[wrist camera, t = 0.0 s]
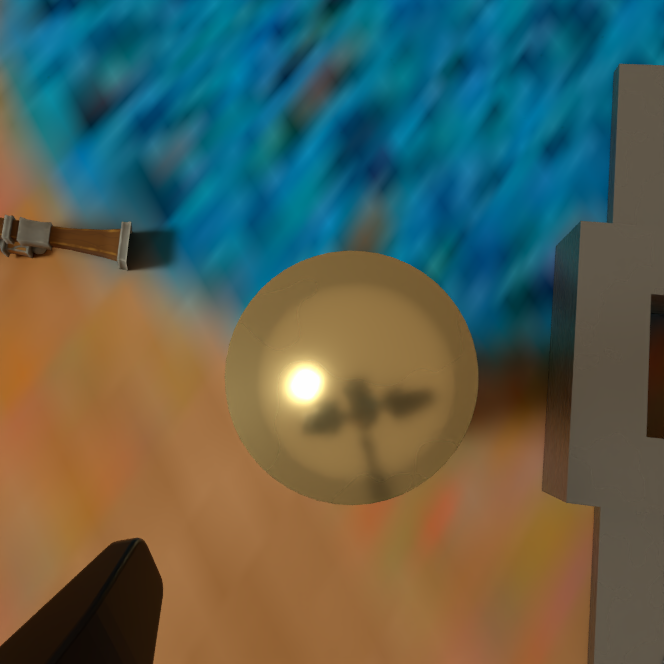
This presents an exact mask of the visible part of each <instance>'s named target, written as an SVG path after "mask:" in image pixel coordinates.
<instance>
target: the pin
mask: <svg viewBox="0 0 664 664" xmlns="http://www.w3.org/2000/svg"><path fill="white" fill-rule="evenodd" d="M225 389H226V397H227V403H228V408H229V412H230V415H231V418H232V421H233V424H234V427H235V429H236V431H237V433H238V435H239V437H240V439H241V441H242V443H243V444H244V446H245V447H246V449H247V450H248V452H249V453H250V455H251V456H252V457H253V458H254V459H255V461H256V462H257V463H258V464H259V465H260V467H262V468H263V469H264V470H265V471H266V472H267V473H268V474H269V475H270V476H272V477H273V478H274V479H275V480H277V481H278V482H280V483H281V484H283V485H284V486H286V487H287V488H289V489H291V490H293V491H295V492H297V493H299V494H301V495H303V496H306V497H309V498H312V499H315V500H318V501H322V502H327V503H332V504H343V505H360V504H371V503H375V502H380V501H385V500H388V499H391V498H394V497H397V496H399V495H402V494H404V493H406V492H408V491H410V490H412V489H414V488H416V487H417V486H419V485H420V484H422V483H423V482H425V481H426V480H427V479H429V478H430V477H432V476H433V475H434V474H435V473H436V472H437V471H438V470H439V469H440V468H441V467H442V466H443V465H444V464H445V463H446V462H447V461H448V459H449V458H450V457H451V456H452V455H453V453H454V452H455V451H456V449H457V447H458V446H459V444H460V442H461V441H462V439H463V438H464V436H465V433H466V431H467V429H468V427H469V424H470V422H471V419H472V416H473V412H474V409H475V405H476V399H477V392H478V364H477V356H476V351H475V347H474V343H473V339H472V336H471V334H470V331H469V329H468V326H467V324H466V322H465V320H464V318H463V316H462V315H461V313H460V311H459V309H458V308H457V306H456V305H455V304H454V302H453V301H452V300H451V298H450V297H449V296H448V294H447V293H446V292H445V291H444V290H443V289H442V288H441V287H440V286H439V285H438V284H437V283H436V282H434V281H433V280H432V279H431V278H429V277H428V276H427V275H425V274H424V273H423V272H421V271H419V270H418V269H416V268H414V267H413V266H411V265H409V264H407V263H405V262H402V261H400V260H398V259H395V258H392V257H389V256H385V255H382V254H378V253H371V252H364V251H341V252H332V253H327V254H323V255H318V256H314V257H312V258H309V259H306V260H304V261H301V262H299V263H297V264H295V265H293V266H291V267H289V268H288V269H286V270H284V271H283V272H281V273H280V274H279V275H277V276H276V277H274V278H273V279H272V280H271V281H270V282H268V283H267V284H266V285H265V286H264V287H263V288H262V289H261V290H260V291H259V292H258V293H257V294H256V296H255V297H254V298H253V299H252V300H251V301H250V303H249V304H248V306H247V308H246V309H245V311H244V312H243V314H242V315H241V317H240V319H239V321H238V323H237V325H236V327H235V330H234V332H233V335H232V338H231V341H230V344H229V349H228V354H227V358H226V368H225Z"/></svg>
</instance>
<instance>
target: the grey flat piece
mask: <svg viewBox="0 0 664 664" xmlns="http://www.w3.org/2000/svg"><path fill="white" fill-rule="evenodd" d="M650 313H656V314H664V66H661V65H635V64H619V66H618V67H617V69H616V70H615V72H614V79H613V102H612V125H611V147H610V170H609V192H608V215H607V223H600V222H586V221H580V222H579V223H578V224H577V225H576V226H575V227H574V228H573V230H572V231H571V232H570V233H569V234H568V235H567V236H566V237H565V238H564V239H563V240H562V241H561V242H560V243H559V244H558V245H557V246H556V254H555V272H554V289H553V307H552V324H551V341H550V359H549V376H548V394H547V411H546V428H545V446H544V463H543V481H542V491H544V492H546V493H548V494H550V495H552V496H554V497H556V498H558V499H560V500H562V501H564V502H566V503H573V504H581V505H589V506H595V508H594V531H593V554H592V576H591V599H590V621H589V644H588V664H664V439H660V438H651V437H646V435H647V404H648V373H649V342H650Z"/></svg>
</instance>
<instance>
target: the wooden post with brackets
mask: <svg viewBox="0 0 664 664" xmlns="http://www.w3.org/2000/svg"><path fill="white" fill-rule="evenodd" d="M130 233H132V225H131V222H122V224H121V229H112V230H95V229H69V228H61V227H54V226H53V225H52V223H51V222H38V221H32V220H27V219H25V218H22V217H20V221H18V220H15V218H14V217H13V216H8V215H5V218H0V248H1V251H2V252H3V253H4V254H5V255H6V256H7V257H9V255H10V254H11V253H13V254H19V255H24V256H28V257H31V258H33V252H34V253H36V254H43V253H45V252H46V249H48V250H52V247H55V248H62V249H69V250H74V251H78V252H83V253H87V254H91V255H96V256H100V257H104V258H108V259H111V260H114V261H117V262H118V266H119V269H125V270H127V264H126V259H127V251H128V242H129V234H130ZM127 271H128V270H127Z"/></svg>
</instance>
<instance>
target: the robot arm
mask: <svg viewBox="0 0 664 664" xmlns="http://www.w3.org/2000/svg"><path fill="white" fill-rule="evenodd" d="M162 598H163V583H162V579H161V576H160V573H159V571H158V569H157V567H156V564H155V562H154V560H153V557H152V555H151V553H150V551H149V548H148V546H147V544H146V543H145V541H144V540H143V539H141V538H132V539H126V540H120V541H116V542H113V543H111V544H110V545H109V546H108V547H107V548H106V549H105V550H103V551H102V552H101V553H100V554H99V555H98V556H97V557H96V558H95V559H94V560H93V561H92V562H91V563H89V564H88V565H87V566H86V567H85V568H84V569H83V570H82V571H81V572H80V573H79V574H78V575H77V576H75V577H74V578H73V579H72V580H71V581H70V582H69V583H68V584H67V585H66V586H65V587H64V588H63V589H61V590H60V591H59V592H58V593H57V594H56V595H55V596H54V597H53V598H52V599H51V600H50V601H49V602H47V603H46V604H45V605H44V606H43V607H42V608H41V609H40V610H39V611H38V612H37V613H36V614H35V615H33V616H32V617H31V618H30V619H29V620H28V621H27V622H26V623H25V624H24V625H23V626H22V627H21V628H19V629H18V630H17V631H16V632H15V633H14V634H13V635H12V636H11V637H10V638H9V639H8V640H7V641H5V642H4V643H3V644H2V645H1V646H0V664H153V660H154V653H155V646H156V639H157V632H158V625H159V619H160V612H161V605H162Z"/></svg>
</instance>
